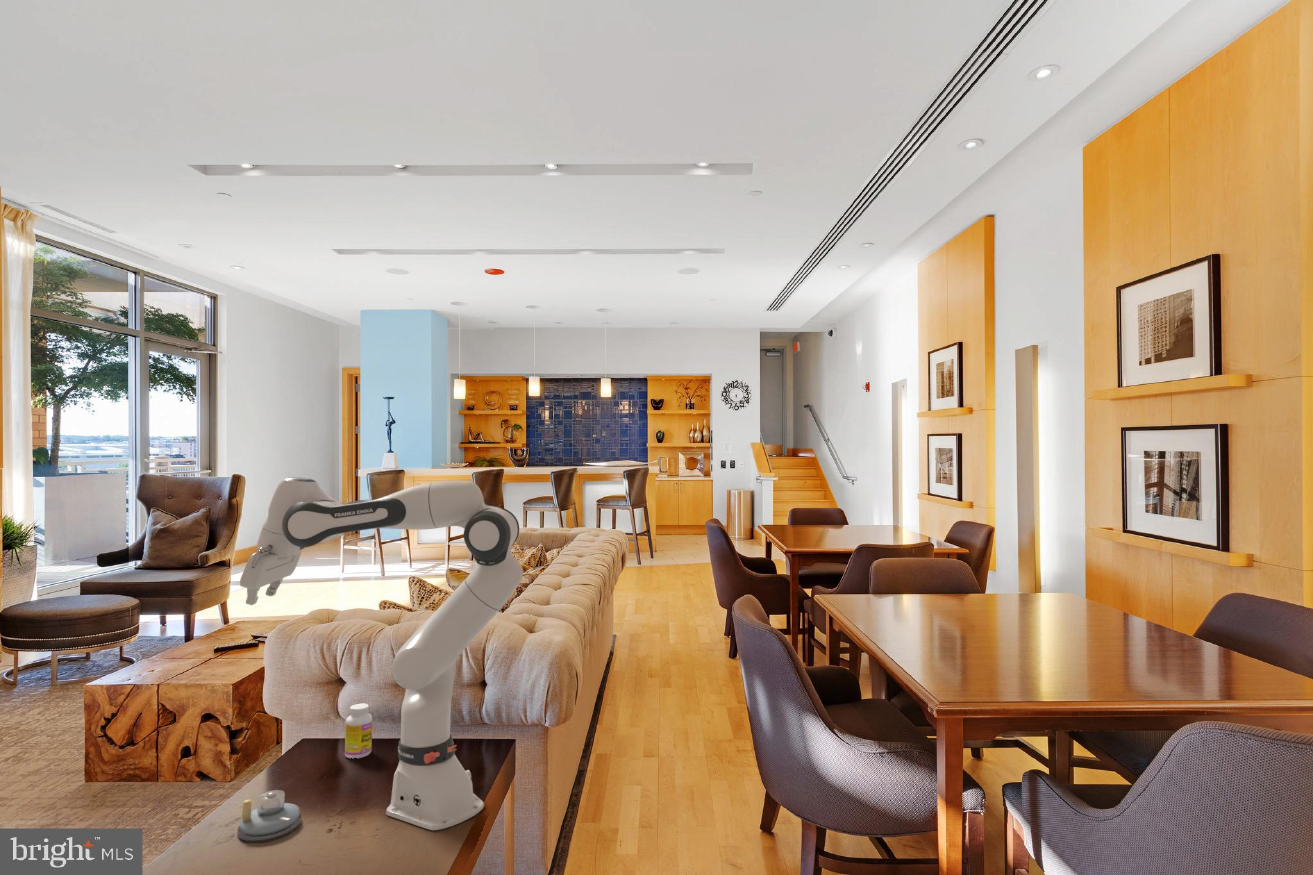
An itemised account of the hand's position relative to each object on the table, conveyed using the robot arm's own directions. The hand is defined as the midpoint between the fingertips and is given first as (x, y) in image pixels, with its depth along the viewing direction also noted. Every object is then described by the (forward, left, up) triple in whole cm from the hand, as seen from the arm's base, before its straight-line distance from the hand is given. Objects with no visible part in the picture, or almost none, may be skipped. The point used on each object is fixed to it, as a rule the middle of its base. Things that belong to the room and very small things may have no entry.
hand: (260, 599), depth 161 cm
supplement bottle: (+6, -28, -47) cm, 55 cm away
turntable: (-15, +3, -45) cm, 48 cm away
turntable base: (-15, +3, -47) cm, 49 cm away
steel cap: (-12, +2, -44) cm, 46 cm away
